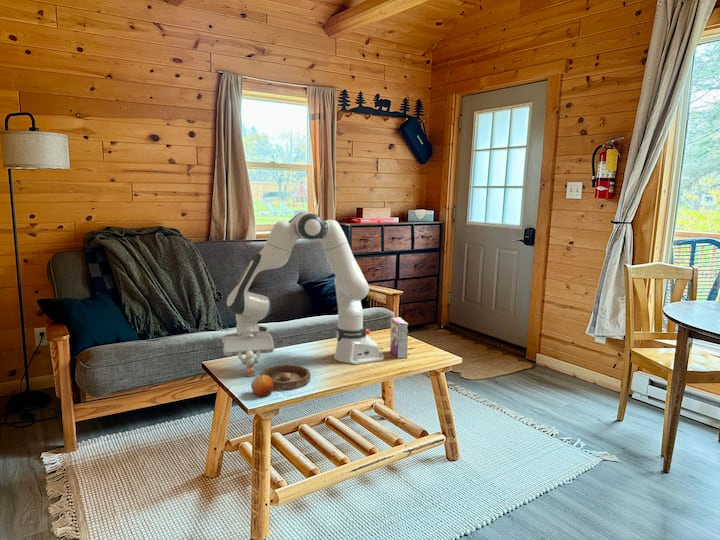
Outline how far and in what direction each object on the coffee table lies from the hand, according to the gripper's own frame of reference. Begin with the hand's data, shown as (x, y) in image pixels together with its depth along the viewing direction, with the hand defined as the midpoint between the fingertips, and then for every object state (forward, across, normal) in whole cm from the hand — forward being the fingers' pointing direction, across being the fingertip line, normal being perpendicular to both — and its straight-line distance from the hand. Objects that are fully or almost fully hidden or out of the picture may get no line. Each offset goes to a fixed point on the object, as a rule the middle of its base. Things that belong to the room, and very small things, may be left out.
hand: (249, 363), depth 199 cm
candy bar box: (-4, +68, +12) cm, 69 cm away
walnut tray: (+10, +13, -2) cm, 16 cm away
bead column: (+3, 0, +4) cm, 5 cm away
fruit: (+18, +3, -10) cm, 20 cm away
